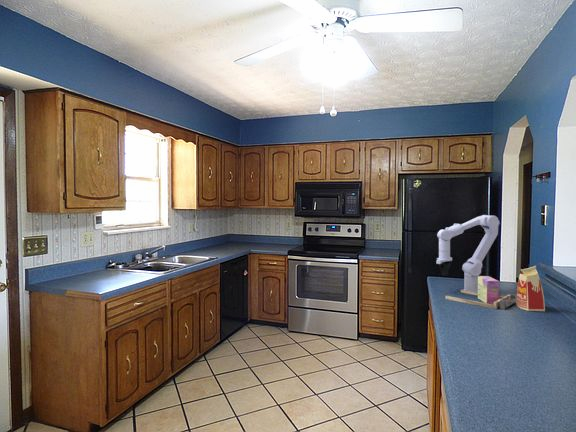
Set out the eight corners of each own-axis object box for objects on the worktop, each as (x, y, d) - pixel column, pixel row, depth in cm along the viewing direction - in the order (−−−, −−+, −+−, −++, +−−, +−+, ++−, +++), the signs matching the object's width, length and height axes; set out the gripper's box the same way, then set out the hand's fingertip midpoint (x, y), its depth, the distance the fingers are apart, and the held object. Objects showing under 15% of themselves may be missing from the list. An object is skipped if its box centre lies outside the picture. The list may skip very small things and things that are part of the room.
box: (499, 304, 171) (499, 280, 170) (486, 304, 171) (486, 280, 171) (489, 298, 181) (489, 276, 180) (477, 298, 182) (477, 276, 181)
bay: (461, 292, 194) (461, 285, 194) (518, 302, 173) (518, 294, 173) (445, 298, 182) (445, 291, 182) (504, 310, 161) (504, 302, 161)
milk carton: (533, 305, 168) (534, 264, 167) (546, 311, 159) (546, 267, 158) (513, 305, 169) (514, 264, 168) (524, 311, 160) (525, 267, 159)
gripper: (443, 249, 203) (443, 272, 203) (431, 251, 194) (431, 275, 194) (455, 250, 197) (455, 273, 198) (443, 253, 188) (443, 277, 189)
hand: (444, 275), depth 196 cm, fingers closed
